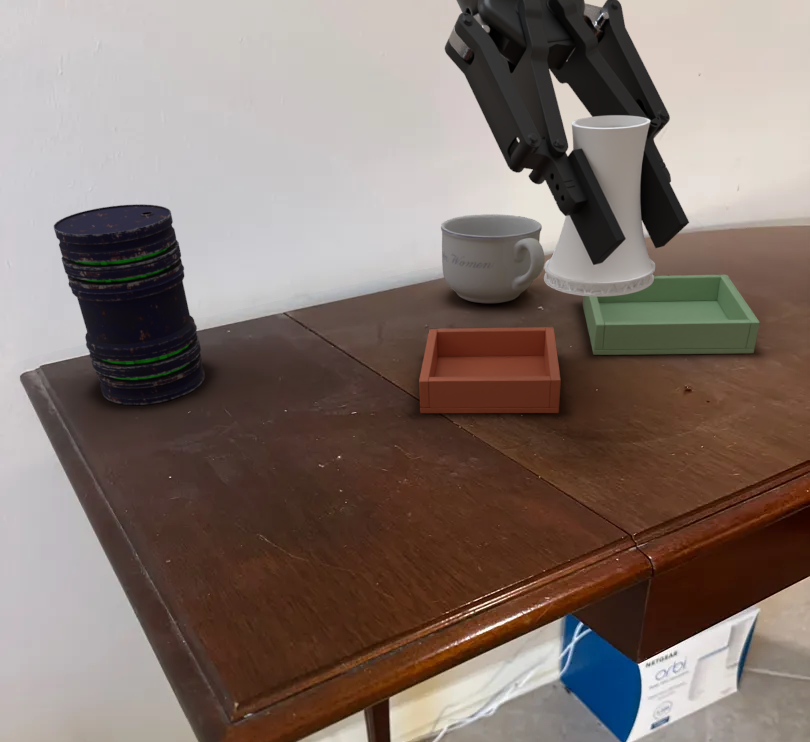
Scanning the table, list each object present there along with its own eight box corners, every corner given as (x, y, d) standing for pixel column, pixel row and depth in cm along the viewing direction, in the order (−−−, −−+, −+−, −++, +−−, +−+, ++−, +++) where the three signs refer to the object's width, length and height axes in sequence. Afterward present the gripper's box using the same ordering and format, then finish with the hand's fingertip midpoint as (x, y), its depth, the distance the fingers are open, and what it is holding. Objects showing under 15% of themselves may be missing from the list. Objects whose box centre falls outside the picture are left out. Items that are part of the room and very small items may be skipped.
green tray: (722, 302, 86) (727, 274, 85) (753, 353, 75) (760, 322, 74) (582, 305, 88) (584, 277, 86) (593, 355, 77) (596, 324, 75)
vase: (628, 258, 61) (643, 107, 55) (672, 290, 54) (694, 125, 49) (530, 269, 60) (535, 118, 54) (563, 303, 54) (573, 136, 48)
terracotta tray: (552, 357, 77) (553, 326, 75) (558, 413, 68) (560, 379, 66) (430, 358, 78) (429, 328, 77) (420, 413, 69) (418, 380, 67)
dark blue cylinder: (111, 415, 72) (60, 242, 63) (91, 376, 79) (44, 216, 70) (219, 388, 75) (186, 220, 67) (191, 353, 83) (157, 198, 74)
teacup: (428, 289, 95) (426, 217, 90) (512, 274, 98) (514, 204, 93) (477, 328, 84) (477, 249, 79) (570, 310, 87) (575, 233, 82)
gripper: (568, -21, 62) (701, 249, 59) (362, -2, 55) (504, 304, 53) (624, -117, 55) (777, 183, 53) (396, -110, 48) (562, 237, 46)
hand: (641, 243), depth 53 cm, fingers closed on vase, 5 cm apart
